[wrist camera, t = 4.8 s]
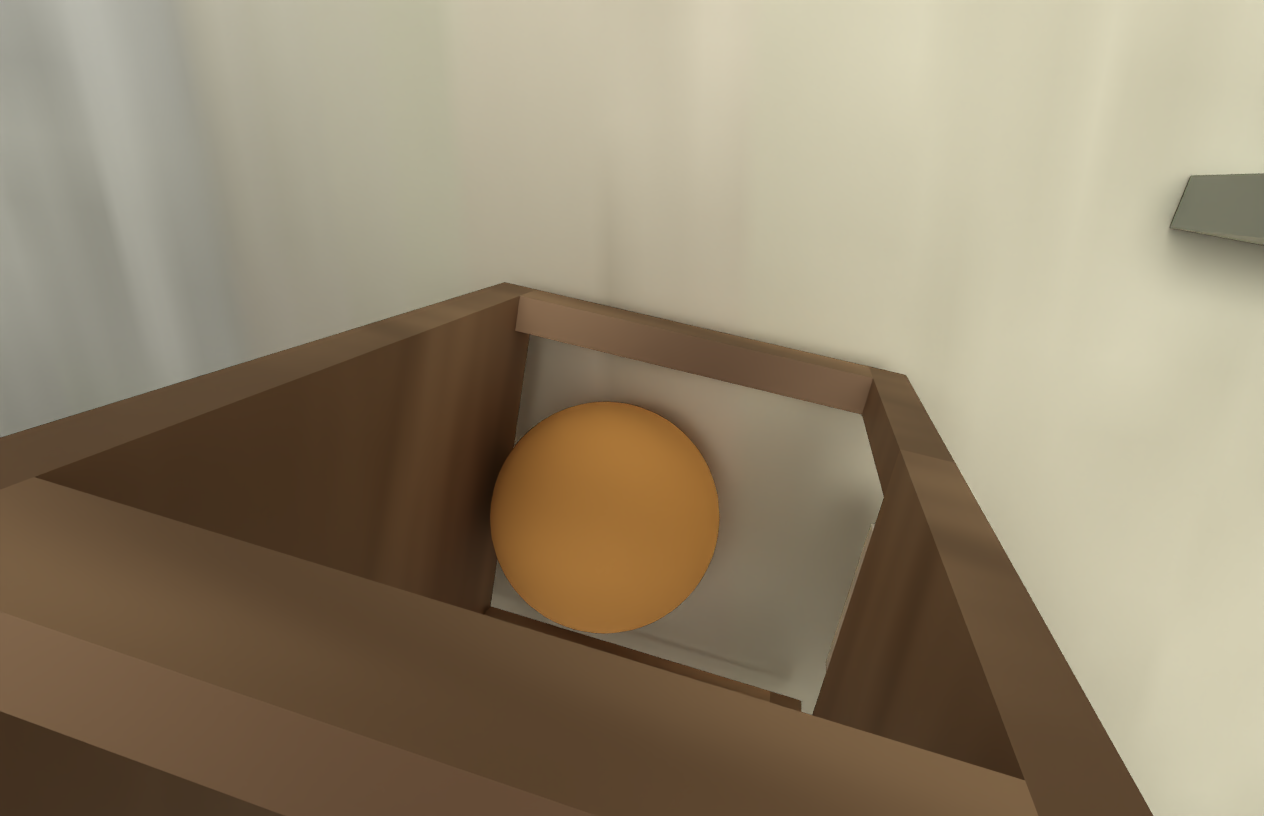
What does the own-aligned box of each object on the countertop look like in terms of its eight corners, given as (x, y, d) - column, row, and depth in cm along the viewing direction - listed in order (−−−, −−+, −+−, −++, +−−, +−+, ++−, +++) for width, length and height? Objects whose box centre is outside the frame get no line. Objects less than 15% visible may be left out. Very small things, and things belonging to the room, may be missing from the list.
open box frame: (460, 622, 15) (-84, 1306, 6) (504, 281, 13) (-269, 519, 4) (793, 725, 14) (776, 1758, 5) (905, 375, 12) (1286, 1051, 3)
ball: (458, 556, 14) (508, 703, 11) (481, 365, 13) (545, 464, 10) (641, 545, 16) (732, 668, 13) (678, 374, 15) (790, 461, 11)
